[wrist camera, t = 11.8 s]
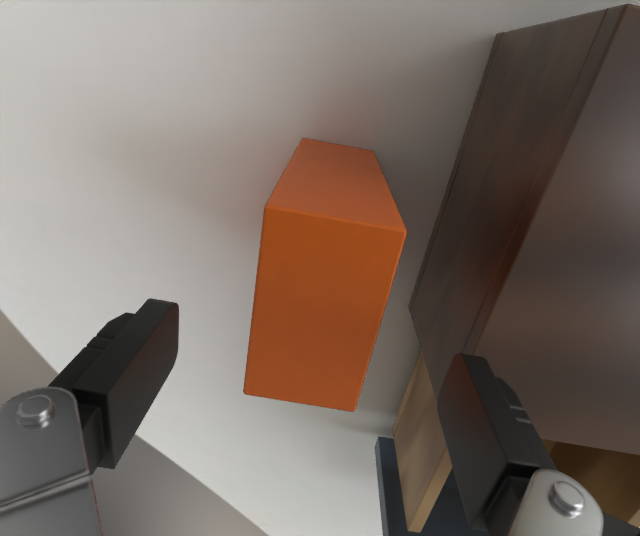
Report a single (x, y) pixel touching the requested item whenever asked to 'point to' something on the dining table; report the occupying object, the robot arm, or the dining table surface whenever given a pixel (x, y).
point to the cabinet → (547, 231)
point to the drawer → (440, 483)
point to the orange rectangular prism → (322, 277)
